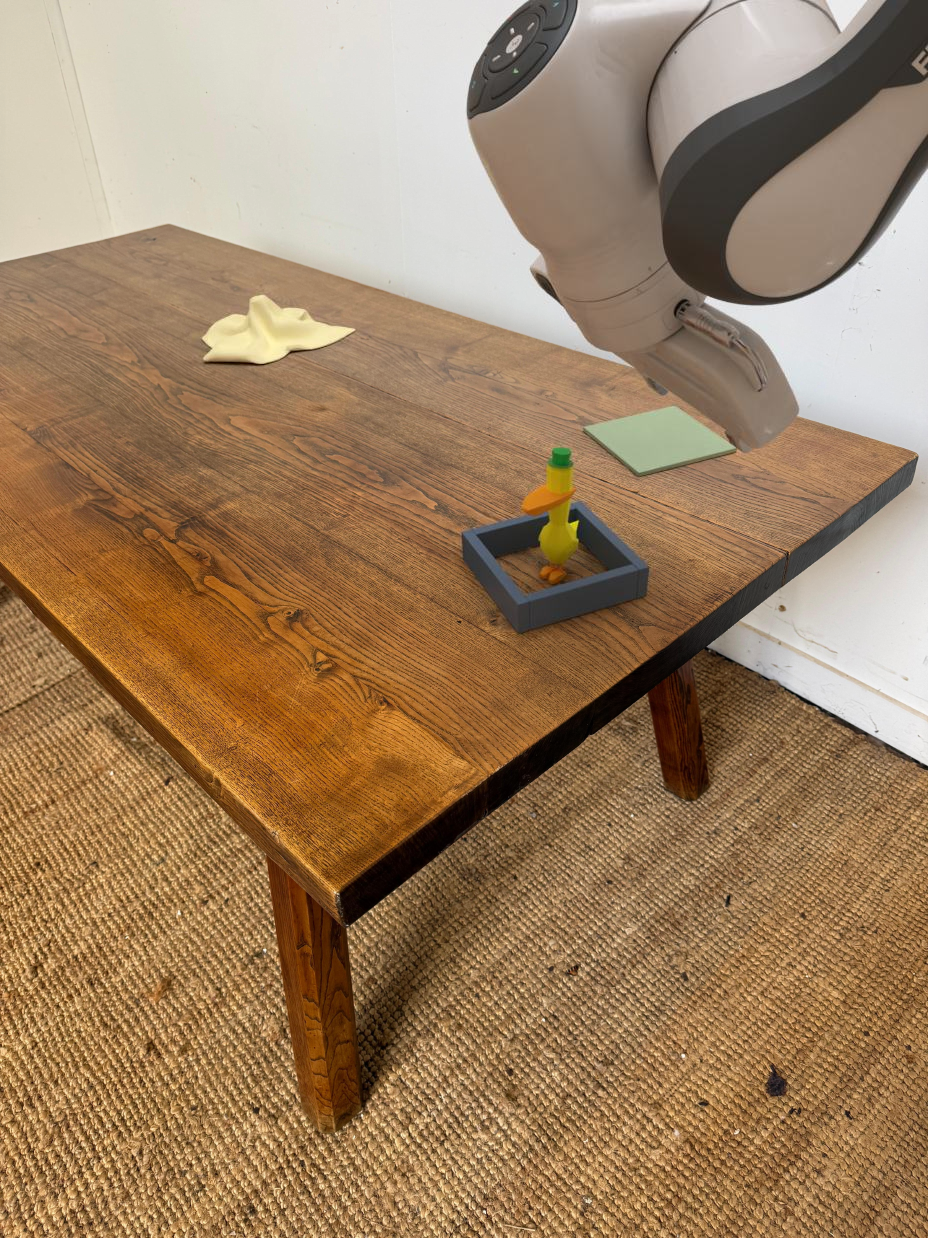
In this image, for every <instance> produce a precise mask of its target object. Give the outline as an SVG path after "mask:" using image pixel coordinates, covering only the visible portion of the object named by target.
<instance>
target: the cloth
mask: <svg viewBox="0 0 928 1238" xmlns="http://www.w3.org/2000/svg"><path fill="white" fill-rule="evenodd" d="M354 332H356V328H352V327H345V326H339V325H329V324H327V323H324V322H321V321H320V322H319V321H316V320H315V319H313V318H312V317H311V315H310V313H309V312H308V311H307V309H303V308H301V307H300V308H299V307H285V308H281V306H279V305H278V304H276V302H275V301H273V300H272V299H271V298H270V297H268V296H267V295H266V294H259V295H255V296H252V297H251V298H249V305H248V311H247V314H246V315H244V314H240V313H239V314H238V313H233V314H230V315H228V316H226V317H223V318H221V319H219V320H217V321H216V322H214V323H213V324H212V325H211V326H210V327H209V328H208V330H207V331H206V333H205V334H204V335H203V336H202V337H201V339H202V341H203V342H204V343H205V344H206V346H207V347H209V348H211V349H210V350H209V351H208V352H207V353H206V354H205V355H204V356H203V357H202V359H203V361H205V362H207V363H208V362H227V363H229V362H231V363H253V364H257V365H261V364H262V365H263V364H269V363H273V362H276V361H279V360H281V359H283V358H285V357H286V356H287V355H288V354H289V353H290V352H295V351H305V350H306V351H308V350H317V349H320V348H322V347H327V346H330V345H332V344H334V343H336V342H339V341H340V340H342V339H344V338H345V337H347V336H349V335H350V334H352V333H354Z"/></svg>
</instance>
